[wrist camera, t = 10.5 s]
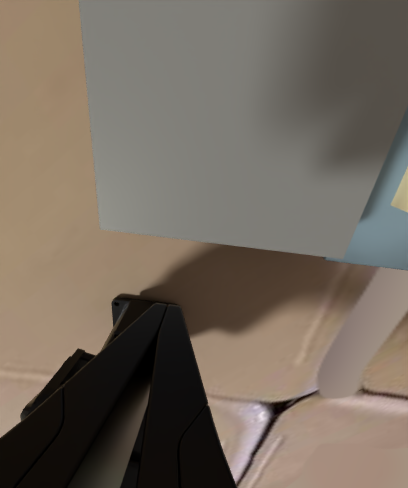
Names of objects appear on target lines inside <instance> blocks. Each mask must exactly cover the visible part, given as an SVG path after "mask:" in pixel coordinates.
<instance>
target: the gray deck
mask: <svg viewBox="0 0 408 488" xmlns="http://www.w3.org/2000/svg"><path fill="white" fill-rule="evenodd" d="M79 9H80V19H81V30H82V41H83V52H84V62H85V73H86V84H87V95H88V105H89V116H90V127H91V138H92V149H93V159H94V170H95V181H96V192H97V202H98V213H99V224H100V229H101V230H109V231H118V232H126V233H134V234H142V235H150V236H158V237H167V238H175V239H183V240H191V241H199V242H207V243H216V244H224V245H232V246H240V247H248V248H257V249H265V250H273V251H281V252H289V253H297V254H306V255H314V256H322V257H330V258H338V259H343V258H344V256H345V253H346V251H347V248H348V246H349V244H350V241H351V239H352V237H353V234H354V232H355V230H356V227H357V225H358V222H359V220H360V218H361V215H362V213H363V211H364V208H365V206H366V204H367V201H368V199H369V196H370V194H371V192H372V189H373V187H374V185H375V182H376V180H377V178H378V175H379V173H380V170H381V168H382V166H383V163H384V161H385V159H386V156H387V154H388V152H389V149H390V147H391V144H392V142H393V140H394V137H395V135H396V133H397V130H398V128H399V126H400V123H401V121H402V118H403V116H404V114H405V111H406V109H407V107H408V0H79Z"/></svg>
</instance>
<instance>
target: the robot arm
mask: <svg viewBox="0 0 408 488" xmlns="http://www.w3.org/2000/svg"><path fill="white" fill-rule="evenodd" d="M117 302H118V303H117ZM112 315H113V329H112V331H111V333H110V335H109V337H108V338H107V340H106V342H105V344H104V346H103V348H102V350H101V351H100V353H98V354H97V355H93V354H90V353H86V352H85V350H82V349H79V348H78V349H77V350H76V352H75V353H74V354H73V355H72V357H69V358H68V359H67V360H66V361H65V362H64V364H63V365H62V366H61V368H60V369H59V370H58V371H57V373H56V374H55V375H54V376H53V378H52V379H51V380H50V381H49V383H48V384H47V385H46V386H45V387H44V389H43V390H42V391H41V392H40V393H39V394H38V395H37V396H35V397H34V398H33V399H32V400H31V401H30V402H29V403H28V404H27V405H26V406H25V408H24V409H23V411H22V413H21V415H20V417H21V422H20V423H19V424H17V425H16V426H15V427H13V428H12V429H11V430H10V431H8V432H7V433H6V434H5V435H3V436H2V437H1V438H0V488H237V486H236V484H235V481H234V479H233V476H232V473H231V471H230V468H229V465H228V463H227V460H226V457H225V455H224V452H223V449H222V446H221V443H220V440H219V437H218V434H217V431H216V427H215V424H214V421H213V417H212V414H211V410H210V407H209V406H208V400H207V397H206V393H205V390H204V386H203V383H202V379H201V376H200V372H199V369H198V365H197V362H196V358H195V355H194V351H193V348H192V344H191V341H190V337H189V333H188V330H187V326H186V323H185V319H184V316H183V312H182V309H181V307H180V306H178V305H176V304H169V303H160V302H152V301H144V300H136V299H128V298H120V297H116V298H114V299H113V301H112Z"/></svg>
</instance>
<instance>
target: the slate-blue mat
mask: <svg viewBox="0 0 408 488" xmlns="http://www.w3.org/2000/svg"><path fill="white" fill-rule="evenodd" d="M407 167H408V107H407V109H406V111H405V114H404V116H403V118H402V121H401V123H400V126H399V128H398V130H397V133H396V135H395V137H394V140H393V142H392V144H391V147H390V149H389V152H388V154H387V156H386V159H385V161H384V163H383V166H382V168H381V170H380V173H379V175H378V178H377V180H376V182H375V185H374V187H373V189H372V192H371V194H370V196H369V199H368V201H367V204H366V206H365V208H364V211H363V213H362V215H361V218H360V220H359V222H358V225H357V227H356V230H355V232H354V234H353V237H352V239H351V241H350V244H349V246H348V248H347V251H346V253H345V256H344V258H343V259H338V258H330V257H323V258H324V259H325V260H328V261H336V262H344V263H352V264H360V265H369V266H377V267H385V268H393V269H401V270H408V212H405V211H403V210H401V209H398V208H396V207H393V206H391V203H392V201H393V198H394V196H395V194H396V192H397V189H398V187H399V185H400V183H401V180H402V178H403V176H404V174H405V172H406V169H407Z"/></svg>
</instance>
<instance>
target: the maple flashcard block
mask: <svg viewBox="0 0 408 488" xmlns="http://www.w3.org/2000/svg"><path fill="white" fill-rule="evenodd" d="M391 206H393V207H396V208H398V209H401V210H403V211H405V212H408V167H407V169H406V172H405V174H404V176H403V178H402V180H401V183H400V185H399V187H398V189H397V192H396V194H395V196H394V198H393V201H392V203H391Z"/></svg>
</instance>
